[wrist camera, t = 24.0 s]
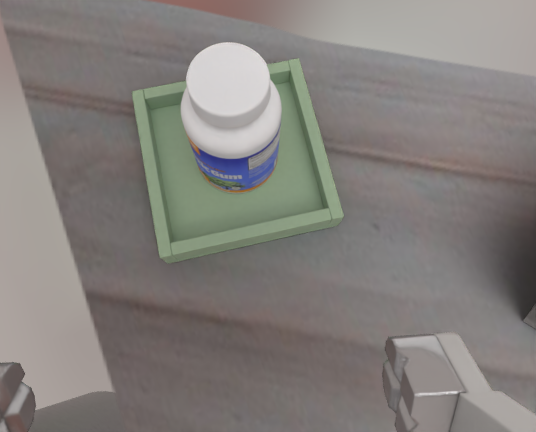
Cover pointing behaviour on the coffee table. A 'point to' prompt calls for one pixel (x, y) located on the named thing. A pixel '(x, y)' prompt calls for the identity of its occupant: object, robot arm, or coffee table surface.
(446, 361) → the robot arm
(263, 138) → the pill bottle
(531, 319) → the lantern
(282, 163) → the tray
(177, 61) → the coffee table surface
